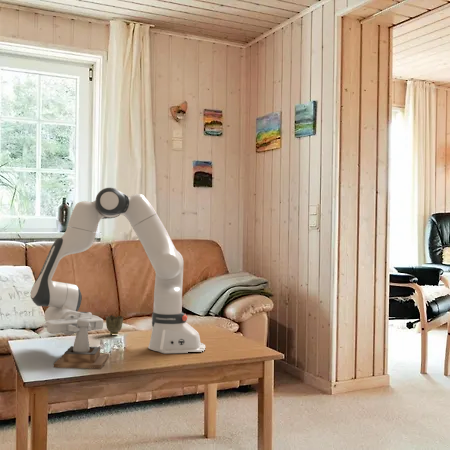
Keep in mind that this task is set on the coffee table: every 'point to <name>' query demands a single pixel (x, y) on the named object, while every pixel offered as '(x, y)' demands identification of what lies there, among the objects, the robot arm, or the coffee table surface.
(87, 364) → the stepped wooden plinth
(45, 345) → the coffee table surface
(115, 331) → the cup
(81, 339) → the salt shaker
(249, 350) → the coffee table surface
